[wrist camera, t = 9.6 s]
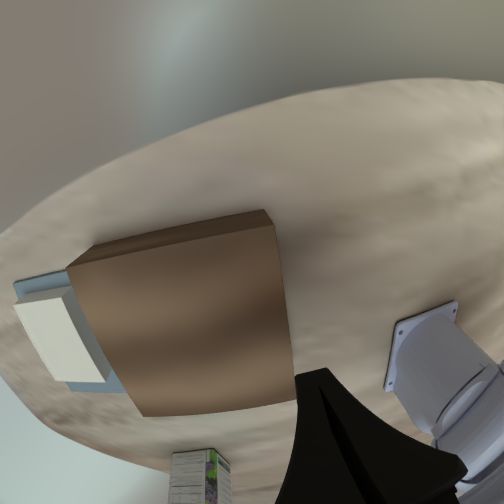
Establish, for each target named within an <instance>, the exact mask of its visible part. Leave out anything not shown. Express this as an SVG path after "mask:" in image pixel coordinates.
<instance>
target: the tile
mask: <svg viewBox="0 0 504 504" xmlns="http://www.w3.org/2000/svg"><path fill="white" fill-rule="evenodd" d="M14 308H15V310H16V312H17V314H18V316H19V318H20V320H21V322H22V324H23V326H24V328H25V330H26V332H27V334H28V336H29V338H30V339H31V341H32V343H33V345H34V346H35V348H36V350H37V352H38V353H39V355H40V357H41V358H42V360H43V362H44V363H45V365H46V366H47V368H48V370H49V371H50V373H51V374H52V376H53V377H54V379H55V380H56V381H68V382H106V381H107V379H108V376H109V374H110V372H111V369H112V367H111V365H110V364H109V362H108V360H107V358H106V357H105V355H104V353H103V351H102V349H101V347H100V345H99V344H98V342H97V340H96V338H95V336H94V334H93V332H92V330H91V328H90V326H89V323H88V321H87V319H86V317H85V315H84V313H83V311H82V308H81V306H80V304H79V301H78V299H77V297H76V294H75V292H74V290H73V287H72V285H71V286H66V287H60V288H55V289H50V290H44V291H39V292H33V293H28V294H25V295H24V296H23V297H22V298H20V299H19V300H18V301H17V302H16V303H15V304H14Z"/></svg>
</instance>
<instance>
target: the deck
mask: <svg viewBox="0 0 504 504" xmlns="http://www.w3.org/2000/svg"><path fill="white" fill-rule="evenodd" d="M65 269H66V271H67V274H68V277H69V279H70V282H71V285H72V287H73V290H74V292H75V294H76V297H77V299H78V301H79V304H80V306H81V308H82V311H83V313H84V315H85V317H86V319H87V321H88V323H89V326H90V328H91V330H92V332H93V334H94V336H95V338H96V340H97V342H98V344H99V345H100V347H101V349H102V351H103V353H104V355H105V357H106V358H107V360H108V362H109V364H110V365H111V367H112V369H113V371H114V372H115V374H116V376H117V377H118V379H119V381H120V382H121V384H122V385H123V387H124V389H125V390H126V392H127V393H128V395H129V396H130V398H131V399H132V401H133V402H134V404H135V405H136V407H137V408H138V410H139V411H140V413H141V414H142V415H143V417H162V416H184V415H198V414H209V413H219V412H227V411H235V410H242V409H248V408H255V407H260V406H266V405H271V404H277V403H282V402H286V401H291V400H296V399H297V398H296V388H295V379H294V368H293V359H292V351H291V342H290V334H289V326H288V318H287V310H286V303H285V295H284V288H283V280H282V273H281V266H280V259H279V252H278V245H277V238H276V232H275V225H274V223H273V222H272V220H271V219H270V217H269V216H268V215H267V213H266V212H265V210H264V209H263V210H258V211H252V212H247V213H241V214H236V215H231V216H226V217H221V218H215V219H210V220H205V221H201V222H196V223H191V224H186V225H181V226H177V227H172V228H167V229H163V230H158V231H154V232H149V233H145V234H141V235H136V236H132V237H128V238H124V239H119V240H115V241H111V242H107V243H103V244H99V245H95V246H92V247H91V248H90V249H88V250H87V251H86V252H84V253H83V254H82V255H81V256H79V257H78V258H77V259H76V260H74V261H73V262H72V263H71V264H69V265H68V266H67V267H66V268H65Z"/></svg>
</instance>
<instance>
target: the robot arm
mask: <svg viewBox="0 0 504 504" xmlns="http://www.w3.org/2000/svg"><path fill="white" fill-rule="evenodd" d="M457 309H458V302H457V301H453V302H450V303H448V304H445V305H443V306H441V307H438V308H436V309H433V310H431V311H428V312H425V313H423V314H420V315H417V316H415V317H412V318H409V319H406V320H404V321H401V322H399V323H398V324H397V325H396V327H395V333H394V339H393V345H392V351H391V357H390V362H389V367H388V372H387V377H386V382H385V386H384V391H385V392H389V391H392V390H393V391H394V392H395V394H396V395H397V397H398V399H399V400H400V402H401V403H402V405H403V407H404V408H405V410H406V412H407V413H408V415H409V417H410V418H411V420H412V421H413V423H414V425H415V426H416V427H417V428H418V429H419V430H421V431H423V432H425V433H427V434H432V435H433V436H434V437H435V438H434V439H433V441H432V442H431V446H429V445H426V444H424V443H421V442H419V441H417V440H415V439H413V438H411V437H409V436H407V435H405V434H403V433H401V432H400V431H398V430H396V429H395V428H393V427H392V426H390V425H389V424H387V423H386V422H384V421H383V420H381V419H380V418H379V417H377V416H376V415H375V414H373V413H372V412H371V411H370V410H368V409H367V408H366V407H365V406H364V405H362V404H361V403H360V402H359V401H358V400H357V399H356V398H355V397H354V396H353V395H352V394H351V393H350V392H349V391H348V390H347V389H346V388H345V387H344V386H343V385H342V384H341V383H340V382H339V381H338V380H337V379H336V377H335V376H334V375H333V374H332V373H331V371H330V370H329V369H328V368H322V369H318V370H314V371H310V372H306V373H302V374H297V375H296V376H295V377H294V379H295V388H296V398H297V405H298V412H297V425H296V433H295V439H294V445H293V449H292V454H291V458H290V462H289V465H288V469H287V472H286V476H285V479H284V481H283V484H282V487H281V489H280V492H279V495H278V497H277V499H276V502H275V504H504V360H503V361H502V362H501V363H500V365H499V364H496V363H495V362H494V361H493V360H492V359H491V358H490V357H489V356H488V355H487V354H486V353H485V352H484V351H483V350H482V349H481V348H480V347H479V346H478V345H477V344H476V343H475V342H474V341H473V340H472V339H471V338H469V337H468V336H467V335H466V334H465V333H464V332H463V331H462V330H461V329H460V328H459V327H458V326H456V325H455V324H454V321H455V317H456V313H457ZM455 486H456V487H458V488H460V489H461V490H463V491H464V492H465V494H463V495H462V496H460V497H459V498H457V497H456V495H455V493H456V492H457V489H456V487H455Z"/></svg>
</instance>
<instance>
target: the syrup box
mask: <svg viewBox="0 0 504 504" xmlns="http://www.w3.org/2000/svg"><path fill="white" fill-rule="evenodd" d="M168 504H232V489H231V471H230V465H229V464H228V463H227V462H226V461H225V460H224V459H223V458H222V457H221V456H220V455H219V454H218V453H217V452H216V451H215V450H214V449H207V450H200V451H192V452H184V453H174V454H173V455H172V464H171V473H170V482H169V493H168Z"/></svg>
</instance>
